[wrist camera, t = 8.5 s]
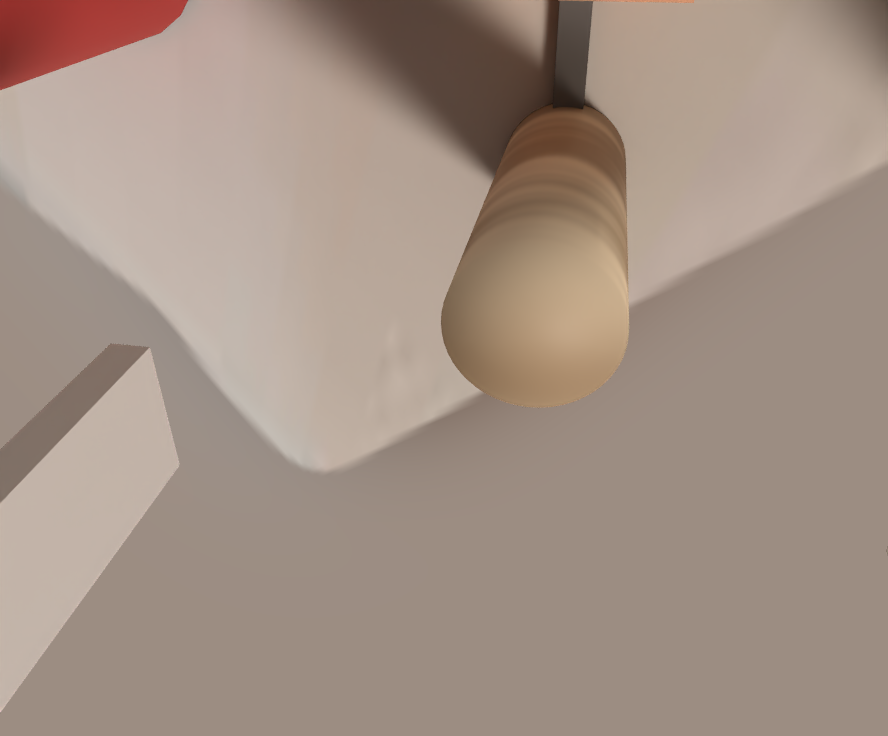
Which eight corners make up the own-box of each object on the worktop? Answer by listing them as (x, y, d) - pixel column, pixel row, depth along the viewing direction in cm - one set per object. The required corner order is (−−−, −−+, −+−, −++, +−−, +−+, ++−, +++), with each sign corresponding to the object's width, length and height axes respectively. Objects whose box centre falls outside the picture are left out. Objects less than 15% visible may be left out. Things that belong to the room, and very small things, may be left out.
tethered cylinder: (487, -271, 22) (374, -390, 12) (713, -280, 21) (800, -416, 11) (478, 215, 29) (405, 394, 19) (643, 225, 28) (656, 419, 18)
